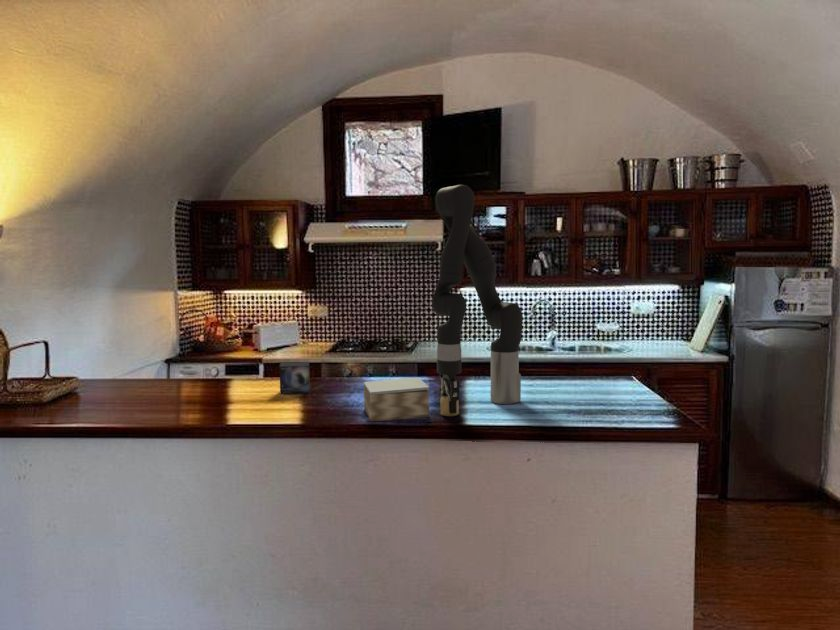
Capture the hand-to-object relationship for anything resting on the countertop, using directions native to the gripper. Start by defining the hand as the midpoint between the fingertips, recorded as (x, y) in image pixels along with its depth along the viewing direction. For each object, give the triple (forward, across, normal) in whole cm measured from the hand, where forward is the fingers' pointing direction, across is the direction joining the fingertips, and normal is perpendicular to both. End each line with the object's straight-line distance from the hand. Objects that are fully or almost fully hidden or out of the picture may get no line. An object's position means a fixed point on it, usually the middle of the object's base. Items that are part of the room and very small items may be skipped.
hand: (449, 409), depth 184 cm
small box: (+2, +42, +46) cm, 62 cm away
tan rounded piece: (+1, 0, 0) cm, 1 cm away
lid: (-7, +5, +16) cm, 18 cm away
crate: (+1, +5, +16) cm, 17 cm away
